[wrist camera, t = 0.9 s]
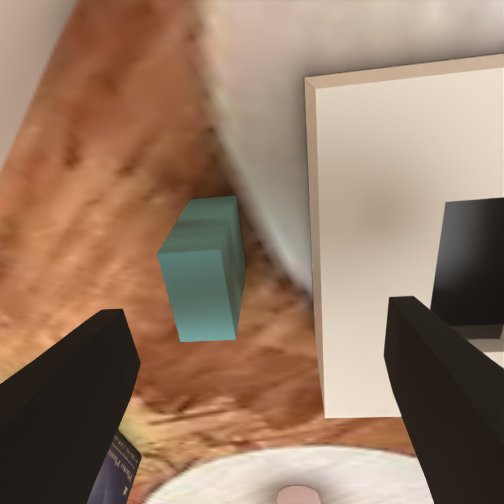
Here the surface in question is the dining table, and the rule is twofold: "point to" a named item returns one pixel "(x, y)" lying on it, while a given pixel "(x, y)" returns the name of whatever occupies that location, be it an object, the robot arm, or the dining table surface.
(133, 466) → the small box
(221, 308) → the block
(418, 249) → the money box
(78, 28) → the dining table surface
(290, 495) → the smoothie
